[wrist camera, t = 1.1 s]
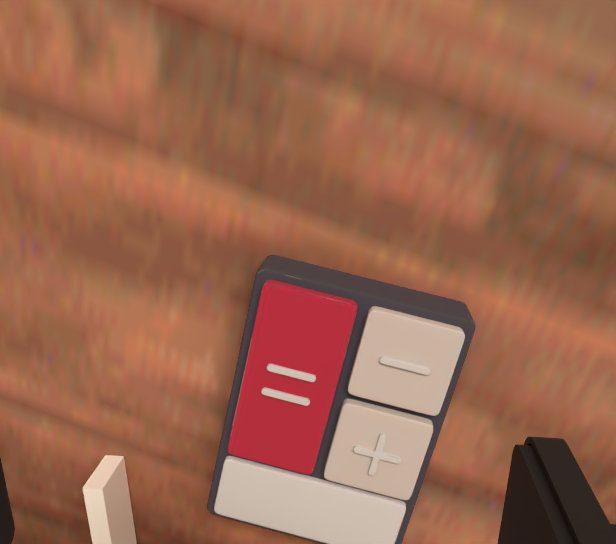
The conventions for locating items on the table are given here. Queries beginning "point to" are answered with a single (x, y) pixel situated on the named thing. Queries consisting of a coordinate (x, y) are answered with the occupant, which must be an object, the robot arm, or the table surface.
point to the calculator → (336, 403)
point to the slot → (109, 503)
